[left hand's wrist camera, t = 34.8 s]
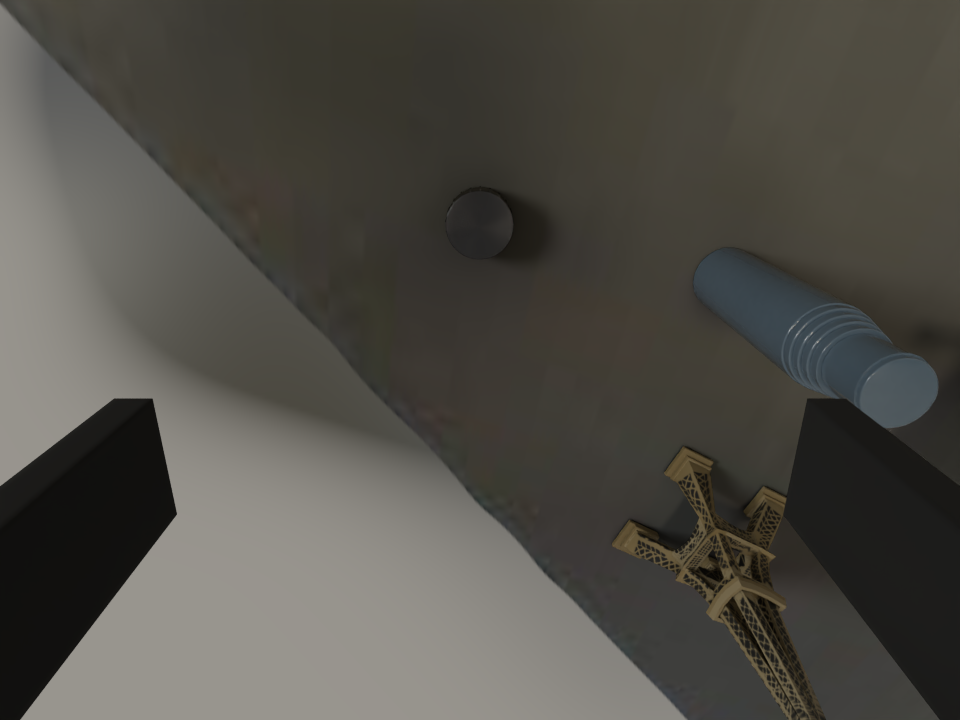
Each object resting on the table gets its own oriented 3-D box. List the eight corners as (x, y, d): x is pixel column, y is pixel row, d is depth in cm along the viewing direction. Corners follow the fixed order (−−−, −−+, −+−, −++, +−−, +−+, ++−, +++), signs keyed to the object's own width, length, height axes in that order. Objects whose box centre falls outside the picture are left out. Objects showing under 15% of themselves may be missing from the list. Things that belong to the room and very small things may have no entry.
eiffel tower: (790, 499, 51) (1055, 824, 27) (714, 590, 54) (892, 948, 31) (683, 446, 49) (869, 745, 26) (611, 543, 52) (717, 886, 29)
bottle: (687, 307, 45) (829, 438, 27) (700, 244, 43) (862, 338, 25) (748, 312, 45) (933, 446, 27) (764, 250, 43) (972, 347, 25)
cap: (515, 248, 43) (517, 255, 41) (451, 256, 44) (450, 264, 41) (508, 182, 42) (510, 185, 39) (442, 191, 42) (440, 195, 40)
